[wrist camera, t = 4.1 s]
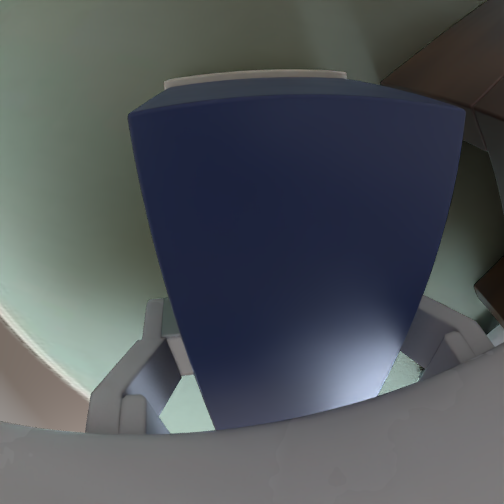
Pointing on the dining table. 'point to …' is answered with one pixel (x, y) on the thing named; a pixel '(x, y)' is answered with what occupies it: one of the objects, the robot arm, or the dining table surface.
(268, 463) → the robot arm
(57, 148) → the dining table surface
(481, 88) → the shelf
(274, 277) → the navy block white base
